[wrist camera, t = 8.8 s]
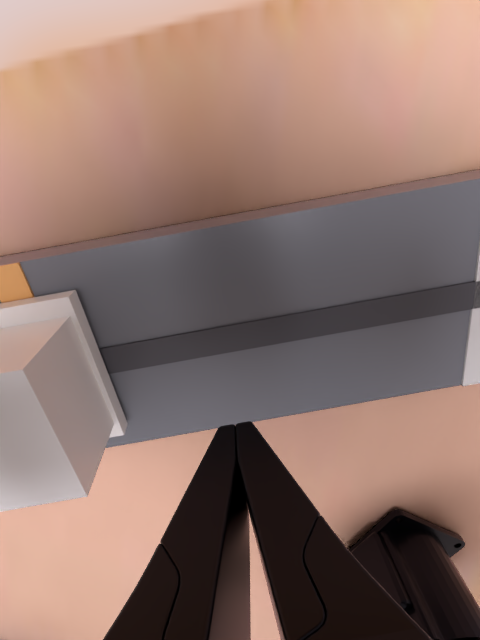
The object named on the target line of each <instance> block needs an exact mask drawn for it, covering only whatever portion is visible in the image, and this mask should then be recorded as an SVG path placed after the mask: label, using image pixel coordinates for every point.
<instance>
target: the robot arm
mask: <svg viewBox="0 0 480 640" xmlns="http://www.w3.org/2000/svg"><path fill="white" fill-rule="evenodd" d="M248 509H249V510H248ZM249 513H250V518H251V522H252V526H253V530H254V534H255V538H256V542H257V546H258V550H259V554H260V558H261V562H262V566H263V570H264V574H265V578H266V582H267V586H268V590H269V594H270V598H271V602H272V606H273V610H274V614H275V618H276V622H277V626H278V630H279V634H280V638H281V640H480V608H479V606H478V604H477V603H476V601H475V599H474V597H473V596H472V594H471V592H470V591H469V589H468V587H467V586H466V584H465V582H464V580H463V579H462V577H461V575H460V574H459V572H458V570H457V568H456V567H455V565H454V563H453V562H452V560H451V558H450V557H451V556H453V555H454V554H455V553H457V552H458V551H459V550H461V549H462V548H463V547H464V546H465V542H464V541H463V539H462V538H461V536H459V535H457V534H455V533H452V532H450V531H448V530H446V529H443V528H441V527H439V526H437V525H434V524H432V523H430V522H428V521H425V520H423V519H421V518H418V517H416V516H414V515H412V514H409V513H407V512H405V511H403V510H399V509H398V510H393V511H392V512H390V513H389V514H388V515H387V516H386V517H385V518H384V519H382V520H381V521H380V522H379V523H378V524H377V525H376V526H375V527H374V528H372V529H371V530H370V531H369V532H368V533H367V534H366V535H365V536H363V537H362V538H361V539H360V540H359V541H358V542H357V543H356V544H355V545H353V546H352V547H351V548H350V549H349V550H348V549H347V548H346V547H345V545H344V544H343V543H342V542H341V540H340V539H339V538H338V537H337V535H336V534H335V533H334V532H333V530H332V529H331V528H330V526H329V525H328V524H327V522H326V521H325V520H324V518H323V517H322V516H320V513H319V512H318V510H317V509H316V508H315V506H314V505H313V504H312V502H311V501H310V500H309V498H308V497H307V496H306V494H305V493H304V492H303V490H302V489H301V488H300V486H299V485H298V484H297V482H296V481H295V479H294V478H293V477H292V475H291V474H290V473H289V471H288V470H287V469H286V467H285V466H284V465H283V463H282V462H281V461H280V459H279V458H278V457H277V455H276V454H275V453H274V451H273V450H272V449H271V447H270V446H269V444H268V443H267V442H266V440H265V439H264V438H263V436H262V435H261V434H260V432H259V431H258V430H257V428H256V427H255V426H254V424H253V423H252V422H251V421H247V422H241V423H237V424H236V426H235V425H234V424H230V425H224V426H220V427H219V428H218V430H217V432H216V434H215V436H214V438H213V440H212V442H211V444H210V445H209V447H208V449H207V451H206V453H205V455H204V457H203V459H202V461H201V463H200V465H199V467H198V469H197V471H196V473H195V475H194V477H193V479H192V481H191V483H190V484H189V486H188V488H187V490H186V492H185V494H184V496H183V498H182V500H181V502H180V504H179V506H178V508H177V510H176V512H175V514H174V516H173V518H172V520H171V521H170V523H169V525H168V527H167V529H166V531H165V533H164V535H163V537H162V539H161V544H159V545H158V546H157V548H156V550H155V552H154V554H153V556H152V558H151V560H150V562H149V564H148V566H147V568H146V569H145V571H144V573H143V575H142V577H141V579H140V580H139V582H138V584H137V586H136V587H135V589H134V591H133V592H132V594H131V596H130V597H129V599H128V601H127V602H126V604H125V605H124V607H123V609H122V610H121V612H120V614H119V615H118V617H117V618H116V620H115V622H114V623H113V625H112V626H111V628H110V629H109V631H108V632H107V634H106V636H105V637H104V639H103V640H251V638H250V546H249Z"/></svg>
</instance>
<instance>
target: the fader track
mask: <svg viewBox="0 0 480 640" xmlns="http://www.w3.org/2000/svg"><path fill="white" fill-rule="evenodd" d="M72 290H76V292H77V295H78V297H79V300H80V302H81V305H82V308H83V310H84V313H85V315H86V318H87V320H88V323H89V326H90V328H91V331H92V333H93V336H94V338H95V341H96V344H97V346H98V349H99V351H100V354H101V356H102V359H103V362H104V364H105V367H106V369H107V372H108V374H109V377H110V380H111V382H112V385H113V387H114V390H115V392H116V395H117V398H118V400H119V403H120V405H121V408H122V410H123V413H124V416H125V418H126V421H127V423H128V424H127V428H126V431H125V434H124V435H122V436H116V437H111V438H109V439H108V442H107V445H106V447H105V448H108V447H113V446H119V445H125V444H130V443H136V442H142V441H147V440H153V439H159V438H164V437H170V436H176V435H181V434H187V433H193V432H198V431H204V430H210V429H215V428H219V427H220V426H224V425H230V424H234V425H236V424H237V423H241V422H247V421H251V422H255V421H260V420H266V419H272V418H277V417H283V416H289V415H294V414H300V413H306V412H311V411H317V410H323V409H328V408H334V407H340V406H345V405H351V404H356V403H362V402H368V401H373V400H379V399H385V398H390V397H396V396H402V395H407V394H413V393H419V392H424V391H430V390H436V389H441V388H447V387H453V386H458V385H462V386H467V385H473V384H478V383H480V169H478V170H473V171H467V172H462V173H456V174H451V175H445V176H440V177H434V178H429V179H423V180H418V181H412V182H407V183H401V184H396V185H390V186H385V187H379V188H374V189H368V190H363V191H357V192H352V193H346V194H341V195H335V196H330V197H324V198H319V199H313V200H308V201H302V202H297V203H291V204H286V205H280V206H275V207H269V208H264V209H258V210H253V211H247V212H242V213H237V214H231V215H226V216H220V217H215V218H209V219H204V220H198V221H193V222H187V223H182V224H176V225H171V226H165V227H160V228H154V229H149V230H143V231H138V232H132V233H127V234H121V235H116V236H110V237H105V238H99V239H94V240H88V241H83V242H77V243H72V244H66V245H61V246H55V247H50V248H44V249H39V250H33V251H28V252H22V253H17V254H11V255H6V256H0V303H5V302H11V301H16V300H22V299H27V298H33V297H38V296H44V295H49V294H55V293H61V292H66V291H72Z"/></svg>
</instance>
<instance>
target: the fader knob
mask: <svg viewBox="0 0 480 640" xmlns="http://www.w3.org/2000/svg"><path fill="white" fill-rule="evenodd" d="M127 424H128V423H127V421H126V418H125V416H124V413H123V410H122V408H121V405H120V403H119V400H118V398H117V395H116V392H115V390H114V387H113V385H112V382H111V380H110V377H109V374H108V372H107V369H106V367H105V364H104V362H103V359H102V356H101V354H100V351H99V349H98V346H97V344H96V341H95V338H94V336H93V333H92V331H91V328H90V326H89V323H88V320H87V318H86V315H85V313H84V310H83V308H82V305H81V302H80V300H79V297H78V295H77V292H76V290H72V291H66V292H61V293H55V294H49V295H44V296H38V297H33V298H27V299H22V300H16V301H11V302H5V303H0V512H2V511H7V510H13V509H19V508H24V507H30V506H36V505H42V504H47V503H53V502H59V501H64V500H70V499H76V498H81V497H87V496H88V493H89V491H90V488H91V485H92V483H93V480H94V477H95V474H96V472H97V469H98V466H99V464H100V461H101V458H102V455H103V453H104V450H105V447H106V445H107V442H108V439H109V438H111V437H116V436H122V435H124V434H125V431H126V428H127Z"/></svg>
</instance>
